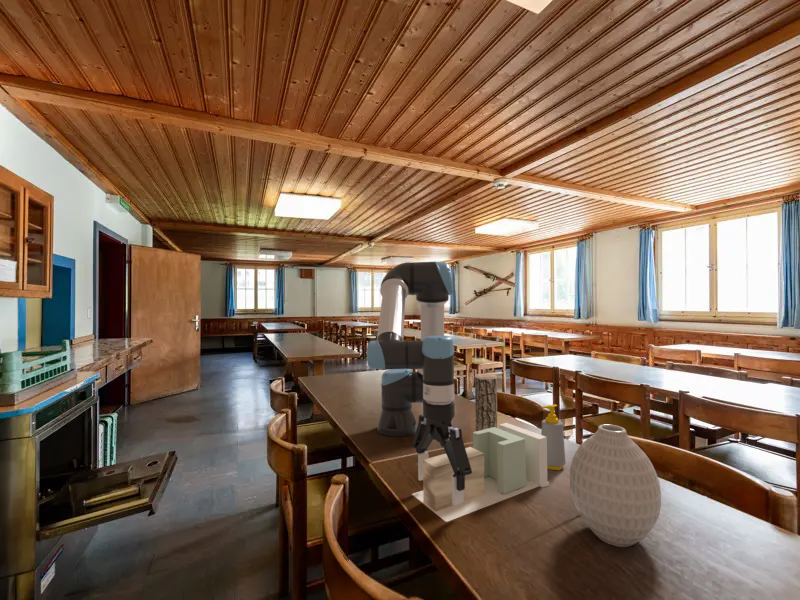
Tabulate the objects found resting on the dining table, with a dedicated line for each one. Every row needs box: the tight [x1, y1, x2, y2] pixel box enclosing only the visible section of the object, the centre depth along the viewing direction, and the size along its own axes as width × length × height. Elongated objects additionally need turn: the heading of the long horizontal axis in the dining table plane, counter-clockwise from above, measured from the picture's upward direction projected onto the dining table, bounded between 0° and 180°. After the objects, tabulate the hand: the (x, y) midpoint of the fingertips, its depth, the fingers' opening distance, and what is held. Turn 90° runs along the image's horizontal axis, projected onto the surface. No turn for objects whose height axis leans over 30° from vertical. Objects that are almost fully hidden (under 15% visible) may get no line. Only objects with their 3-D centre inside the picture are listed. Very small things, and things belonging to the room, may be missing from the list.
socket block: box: [472, 427, 526, 494], centre depth 98 cm, size 11×8×12 cm
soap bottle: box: [540, 403, 566, 471], centre depth 109 cm, size 7×7×18 cm
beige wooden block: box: [422, 446, 485, 511], centre depth 90 cm, size 5×15×10 cm, turn 121°
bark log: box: [474, 373, 498, 432], centre depth 119 cm, size 7×7×25 cm
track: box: [411, 422, 550, 523], centre depth 95 cm, size 14×34×13 cm, turn 121°
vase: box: [569, 423, 662, 548], centre depth 76 cm, size 16×16×22 cm
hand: (439, 490), depth 88 cm, fingers open, 13 cm apart
